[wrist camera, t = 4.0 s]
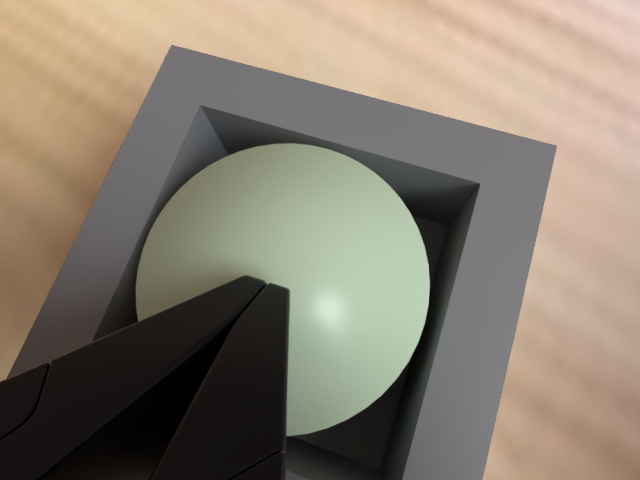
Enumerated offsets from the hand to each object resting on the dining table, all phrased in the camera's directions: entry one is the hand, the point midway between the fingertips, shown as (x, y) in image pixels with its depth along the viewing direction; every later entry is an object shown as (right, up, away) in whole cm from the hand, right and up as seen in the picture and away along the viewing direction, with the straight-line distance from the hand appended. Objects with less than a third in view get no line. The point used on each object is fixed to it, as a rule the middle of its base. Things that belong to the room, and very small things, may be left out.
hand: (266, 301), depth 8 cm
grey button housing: (+1, -2, +9) cm, 9 cm away
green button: (0, 0, +3) cm, 4 cm away
